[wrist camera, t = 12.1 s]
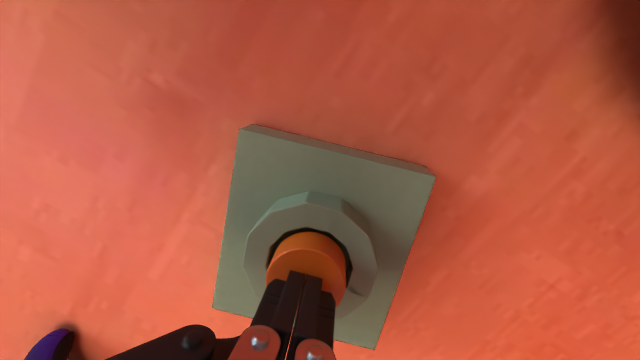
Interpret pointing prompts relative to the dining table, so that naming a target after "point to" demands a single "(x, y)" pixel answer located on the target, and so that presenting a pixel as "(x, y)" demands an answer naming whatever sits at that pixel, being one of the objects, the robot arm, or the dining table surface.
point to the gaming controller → (53, 346)
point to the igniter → (310, 261)
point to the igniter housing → (320, 221)
